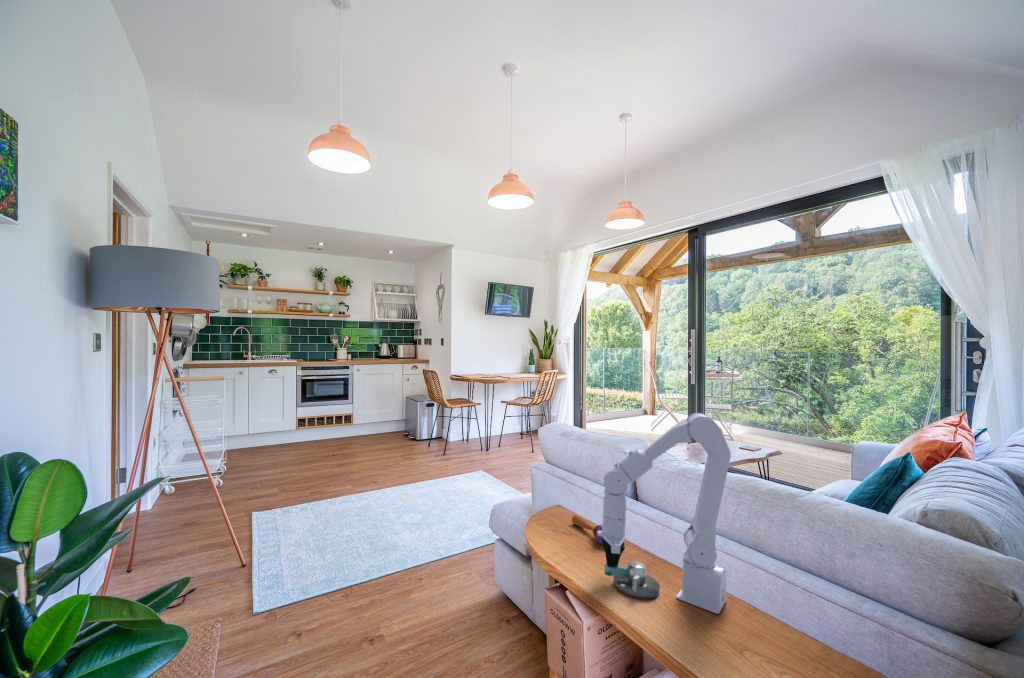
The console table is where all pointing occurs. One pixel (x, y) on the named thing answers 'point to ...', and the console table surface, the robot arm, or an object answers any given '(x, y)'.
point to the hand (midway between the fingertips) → (611, 570)
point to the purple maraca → (588, 527)
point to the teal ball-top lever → (627, 571)
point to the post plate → (637, 587)
